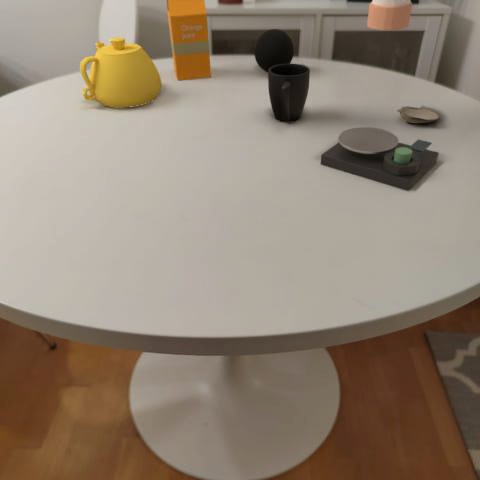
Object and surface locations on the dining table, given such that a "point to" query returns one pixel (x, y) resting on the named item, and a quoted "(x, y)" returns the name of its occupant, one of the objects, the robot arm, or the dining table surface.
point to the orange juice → (189, 38)
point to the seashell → (417, 115)
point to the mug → (288, 90)
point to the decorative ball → (273, 49)
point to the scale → (381, 165)
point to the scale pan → (374, 141)
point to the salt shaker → (389, 14)
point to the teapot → (120, 75)
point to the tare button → (403, 155)
